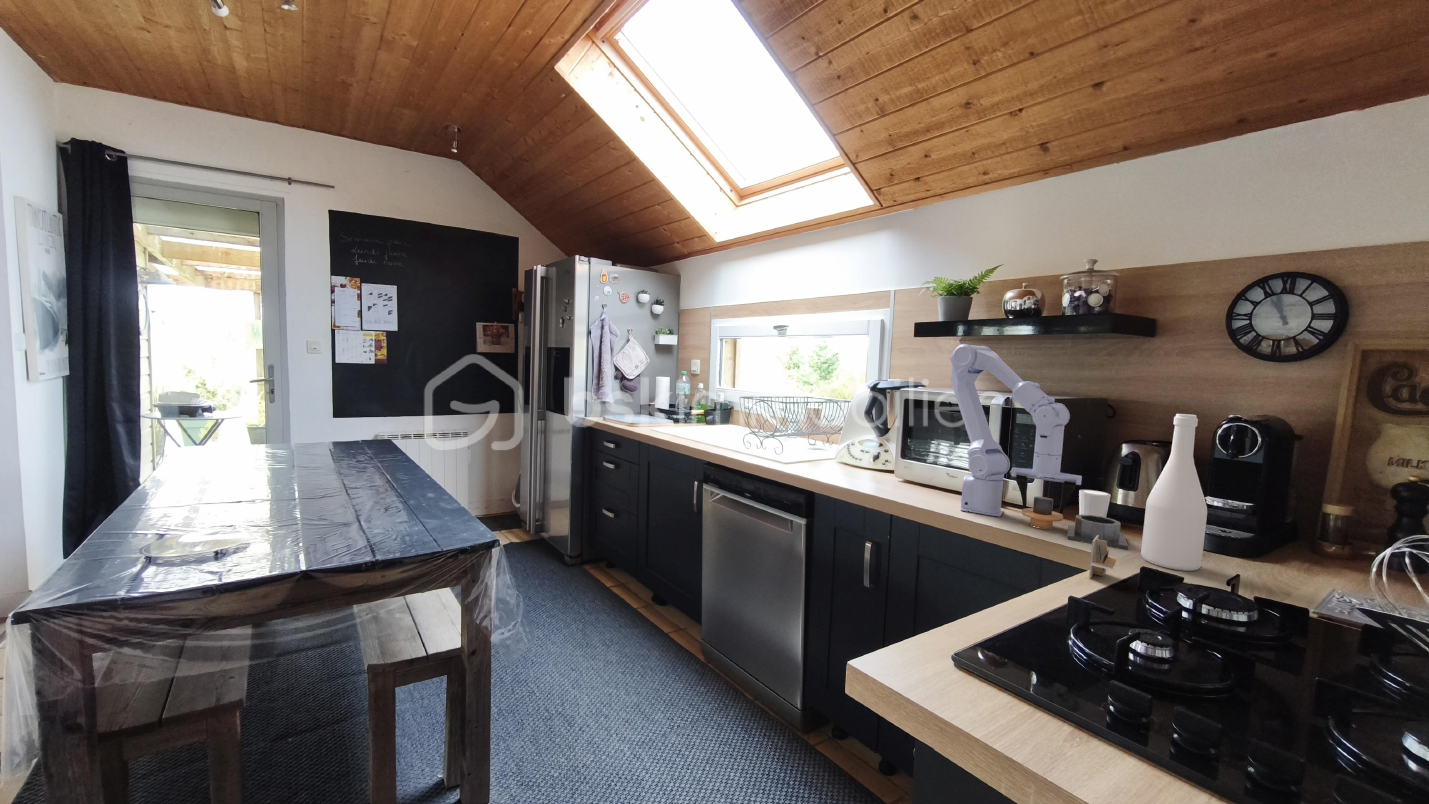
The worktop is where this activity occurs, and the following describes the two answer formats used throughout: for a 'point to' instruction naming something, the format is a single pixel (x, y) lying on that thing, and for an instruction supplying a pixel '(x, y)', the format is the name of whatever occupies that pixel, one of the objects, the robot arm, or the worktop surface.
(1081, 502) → the shot glass
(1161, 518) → the wine bottle
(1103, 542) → the architectural model
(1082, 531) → the grey bowl on base
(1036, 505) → the cap
